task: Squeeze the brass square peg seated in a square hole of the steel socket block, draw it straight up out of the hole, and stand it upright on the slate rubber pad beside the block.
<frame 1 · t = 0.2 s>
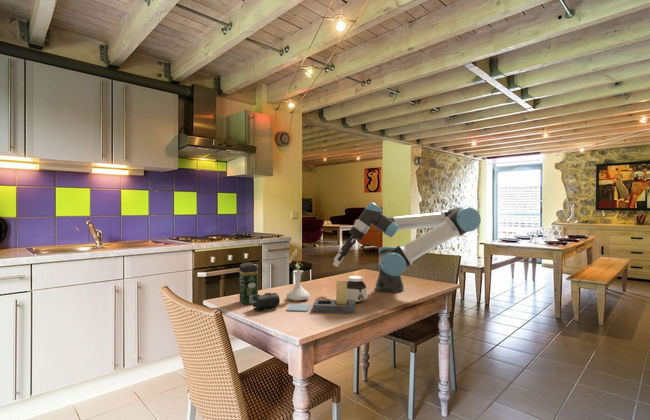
hand: (335, 263, 179), 16 cm above the table, tool tilted 35°, fingers open, 13 cm apart
brass peg: (341, 309, 152), resting in steel socket block
coffee jar: (248, 302, 163), on the table
slate pad: (298, 308, 154), on the table
steel socket block: (334, 309, 152), on the table
spread jar: (355, 300, 167), on the table
flower in vase: (297, 300, 168), on the table
end cap: (265, 310, 152), on the table
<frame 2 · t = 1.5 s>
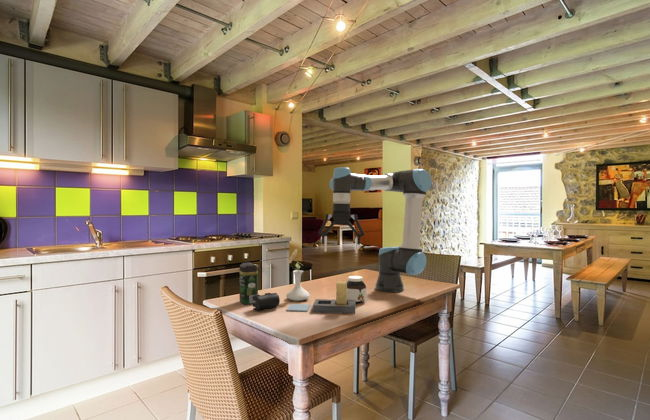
hand: (340, 251, 152), 25 cm above the table, tool pointing down, fingers open, 13 cm apart
nothing on the table moved.
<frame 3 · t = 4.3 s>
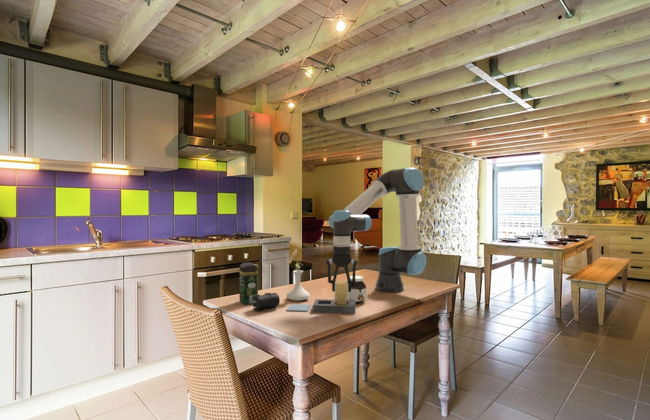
hand: (341, 299, 152), 5 cm above the table, tool pointing down, fingers closed on brass peg, 4 cm apart
brass peg: (341, 309, 152), resting in steel socket block, touching gripper
everything else where it was.
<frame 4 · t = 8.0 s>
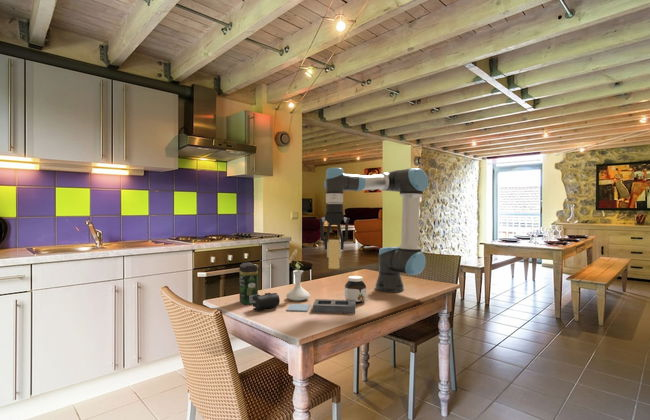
hand: (334, 257, 152), 23 cm above the table, tool pointing down, fingers closed on brass peg, 4 cm apart
brass peg: (334, 267, 152), point 18 cm above the table, touching gripper
everything else where it was.
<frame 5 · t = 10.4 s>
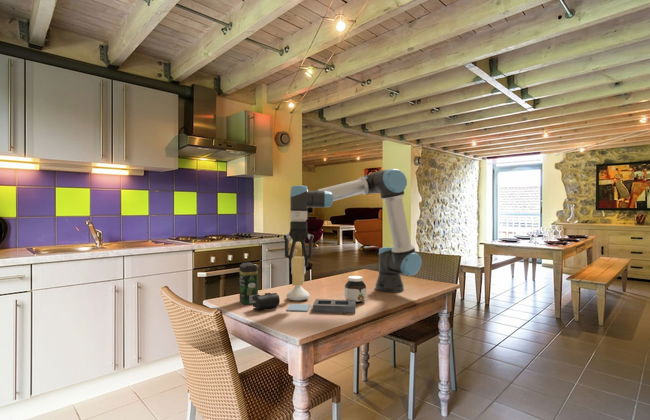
hand: (298, 273, 153), 15 cm above the table, tool pointing down, fingers closed on brass peg, 4 cm apart
brass peg: (298, 284, 153), point 11 cm above the table, touching gripper
everything else where it was.
when the fingers open (7 cm above the table, at t = 12.1 s): brass peg drops 2 cm, resting on slate pad.
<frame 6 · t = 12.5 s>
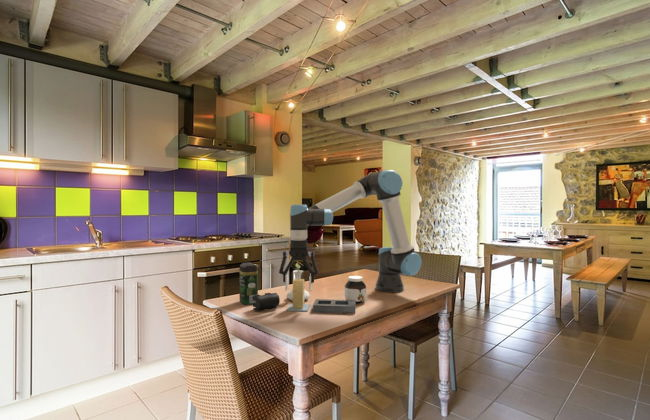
hand: (298, 289, 153), 8 cm above the table, tool pointing down, fingers open, 10 cm apart
brass peg: (298, 307, 154), point 1 cm above the table, touching slate pad
everything else where it was.
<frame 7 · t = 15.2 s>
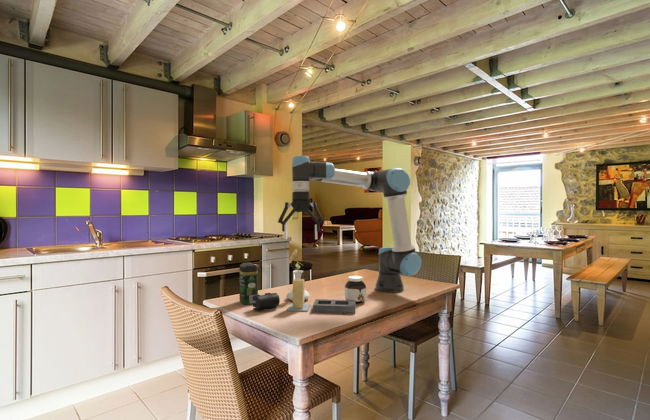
hand: (301, 239, 154), 30 cm above the table, tool pointing down, fingers open, 13 cm apart
nothing on the table moved.
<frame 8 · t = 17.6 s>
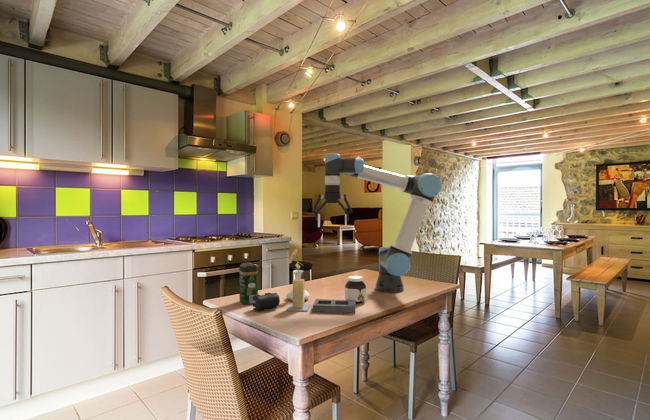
hand: (332, 227, 175), 35 cm above the table, tool pointing down, fingers open, 13 cm apart
nothing on the table moved.
at the end: brass peg inside the target area on the slate pad (0.0 cm from its centre), point 0.6 cm above the slate pad's base; brass peg tilted 0°; the gripper is holding nothing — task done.
